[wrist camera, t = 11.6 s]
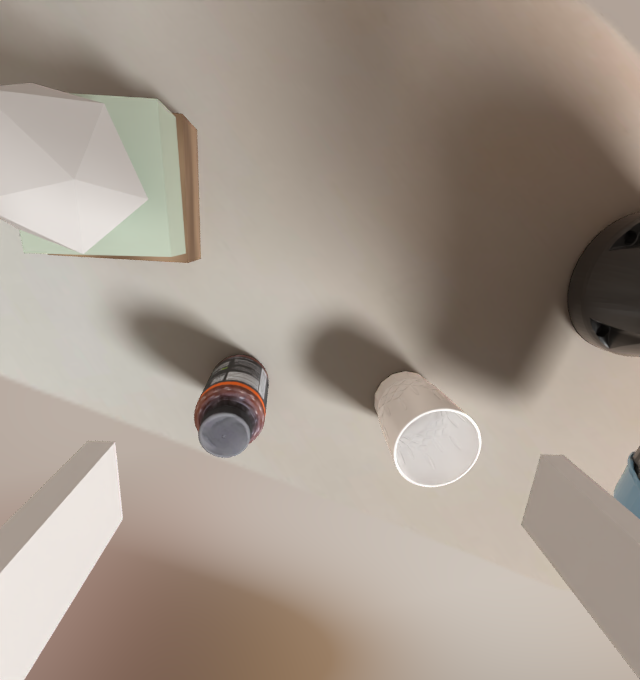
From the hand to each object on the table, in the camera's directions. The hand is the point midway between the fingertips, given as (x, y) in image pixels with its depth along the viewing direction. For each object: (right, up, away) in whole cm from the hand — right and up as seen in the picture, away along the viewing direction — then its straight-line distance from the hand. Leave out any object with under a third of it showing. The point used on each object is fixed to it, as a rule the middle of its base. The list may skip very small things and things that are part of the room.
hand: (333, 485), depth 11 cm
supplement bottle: (-9, 0, +27) cm, 29 cm away
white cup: (+9, -2, +30) cm, 31 cm away
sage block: (-16, +17, +17) cm, 29 cm away
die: (-16, +15, +13) cm, 26 cm away
